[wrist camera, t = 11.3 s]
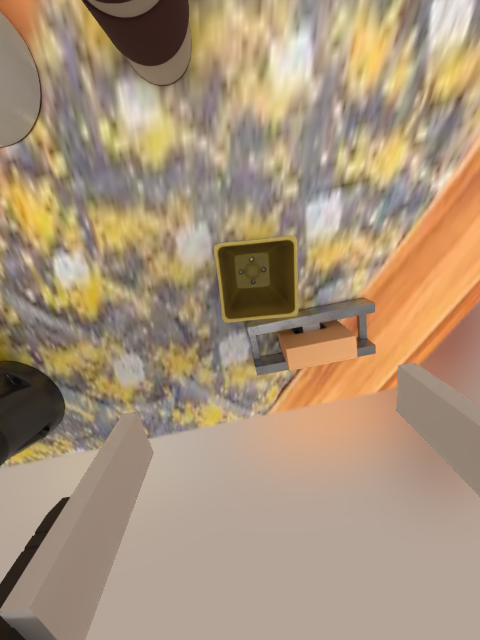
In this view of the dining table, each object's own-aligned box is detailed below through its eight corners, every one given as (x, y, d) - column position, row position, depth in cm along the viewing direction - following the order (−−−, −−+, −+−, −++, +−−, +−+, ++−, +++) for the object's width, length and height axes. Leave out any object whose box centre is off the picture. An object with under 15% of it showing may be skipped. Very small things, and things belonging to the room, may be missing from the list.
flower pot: (283, 298, 35) (299, 316, 27) (226, 303, 35) (222, 323, 27) (281, 236, 32) (297, 234, 24) (218, 242, 33) (212, 243, 24)
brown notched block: (280, 347, 38) (289, 370, 31) (277, 329, 37) (285, 349, 30) (335, 336, 37) (357, 357, 31) (334, 318, 36) (356, 335, 30)
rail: (255, 365, 39) (257, 375, 36) (246, 320, 36) (247, 327, 33) (365, 344, 38) (375, 353, 35) (363, 297, 35) (374, 302, 32)
